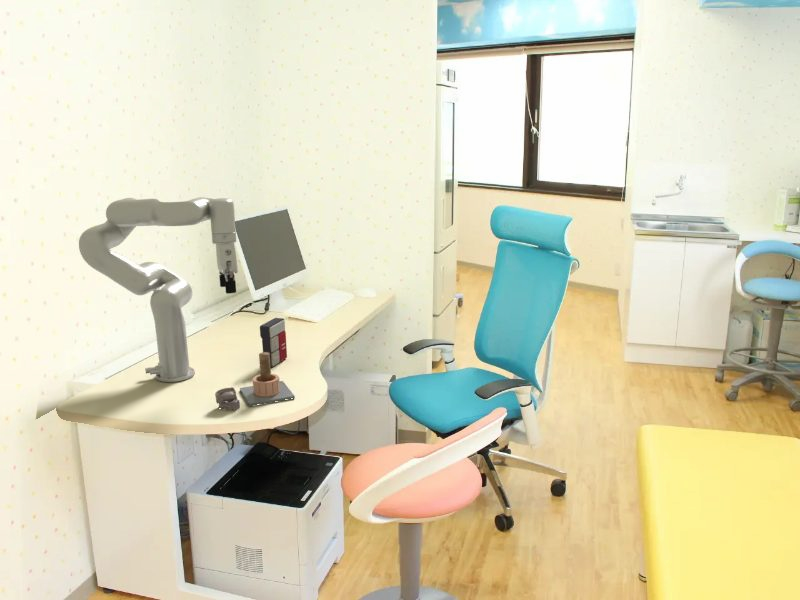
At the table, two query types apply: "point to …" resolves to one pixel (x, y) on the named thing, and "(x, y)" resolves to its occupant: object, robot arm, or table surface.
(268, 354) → the wooden capsule dowel
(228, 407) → the dental mold
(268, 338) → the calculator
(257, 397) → the board
